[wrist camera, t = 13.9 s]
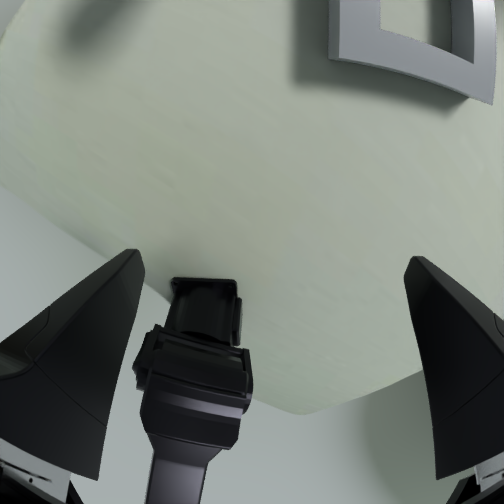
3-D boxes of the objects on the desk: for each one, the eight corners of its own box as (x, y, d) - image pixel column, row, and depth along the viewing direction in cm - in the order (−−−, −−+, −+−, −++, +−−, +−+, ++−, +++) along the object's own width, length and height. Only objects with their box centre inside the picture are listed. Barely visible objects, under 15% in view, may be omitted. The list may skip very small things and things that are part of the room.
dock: (327, 59, 15) (338, 57, 12) (324, -78, 7) (332, -94, 5) (469, 97, 14) (492, 105, 12) (468, -25, 7) (489, -28, 4)
